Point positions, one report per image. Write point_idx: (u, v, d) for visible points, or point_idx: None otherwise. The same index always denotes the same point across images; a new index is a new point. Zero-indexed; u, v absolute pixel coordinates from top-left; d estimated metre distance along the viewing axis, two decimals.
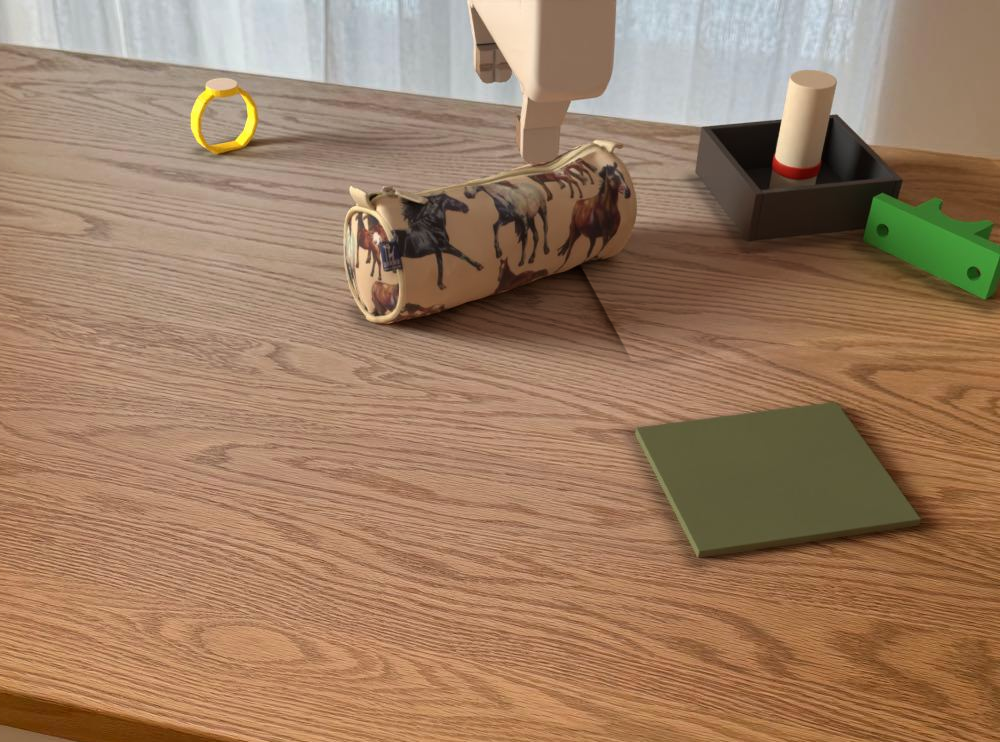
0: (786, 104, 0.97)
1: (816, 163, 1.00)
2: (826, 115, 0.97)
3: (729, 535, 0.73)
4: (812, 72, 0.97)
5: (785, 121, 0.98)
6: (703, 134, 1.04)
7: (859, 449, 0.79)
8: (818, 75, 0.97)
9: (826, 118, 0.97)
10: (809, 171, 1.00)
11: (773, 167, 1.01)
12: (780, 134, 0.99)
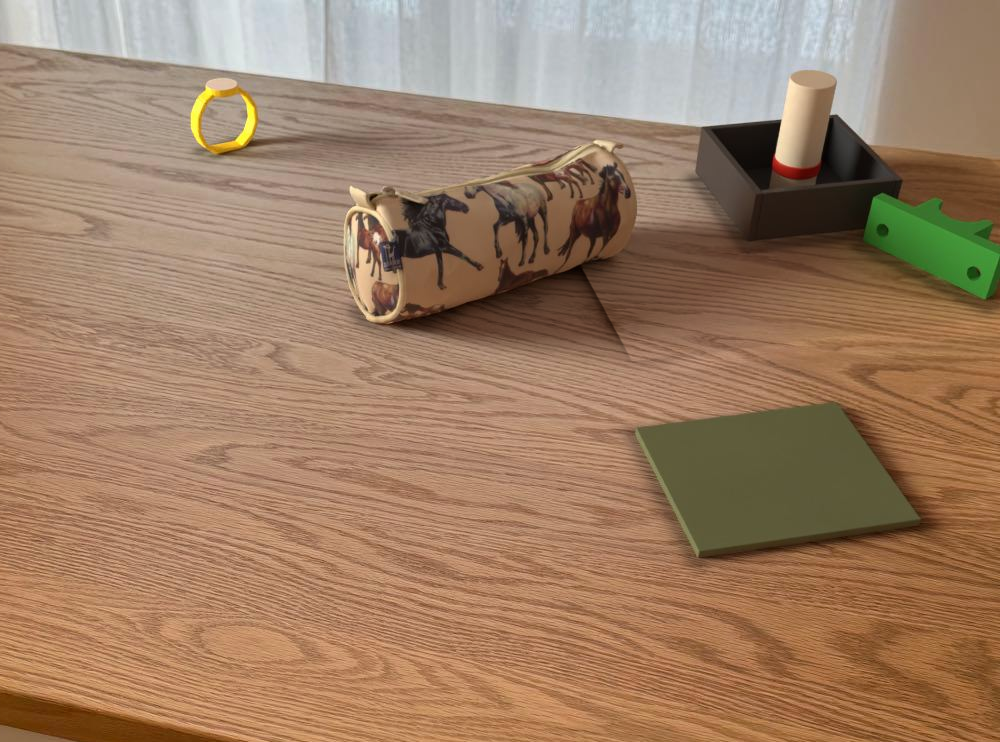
0: (786, 104, 0.97)
1: (816, 163, 1.00)
2: (826, 115, 0.97)
3: (729, 535, 0.73)
4: (812, 72, 0.97)
5: (785, 121, 0.98)
6: (703, 134, 1.04)
7: (859, 449, 0.79)
8: (818, 75, 0.97)
9: (826, 118, 0.97)
10: (809, 171, 1.00)
11: (773, 167, 1.01)
12: (780, 134, 0.99)
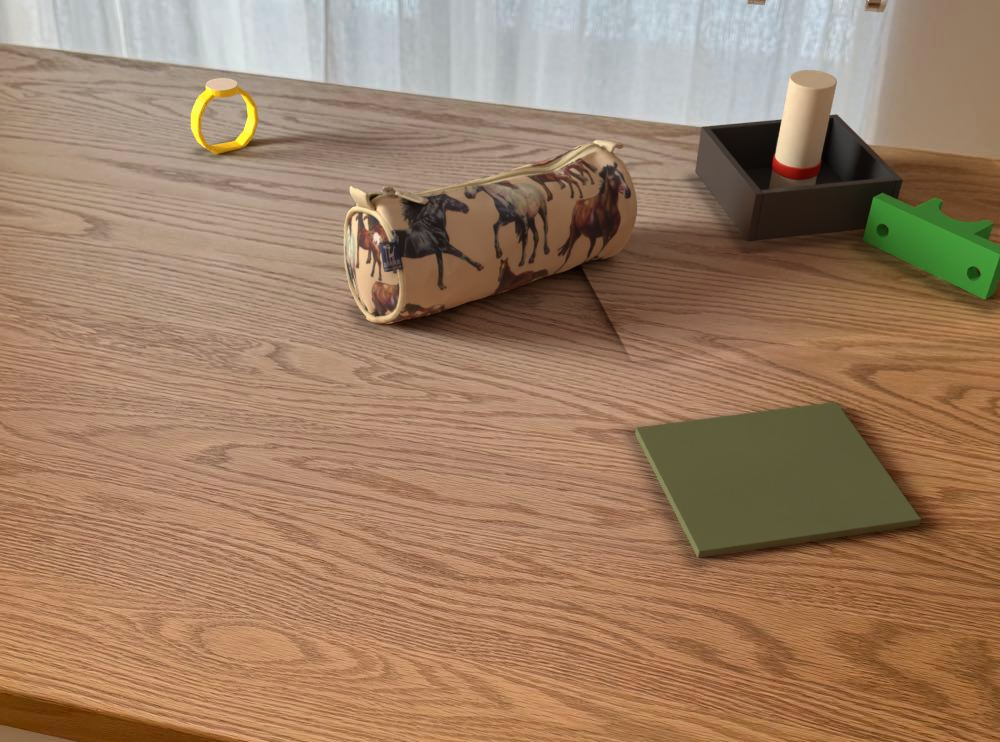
0: (786, 104, 0.97)
1: (816, 163, 1.00)
2: (826, 115, 0.97)
3: (729, 535, 0.73)
4: (812, 72, 0.97)
5: (785, 121, 0.98)
6: (703, 134, 1.04)
7: (859, 449, 0.79)
8: (818, 75, 0.97)
9: (826, 118, 0.97)
10: (809, 171, 1.00)
11: (773, 167, 1.01)
12: (780, 134, 0.99)
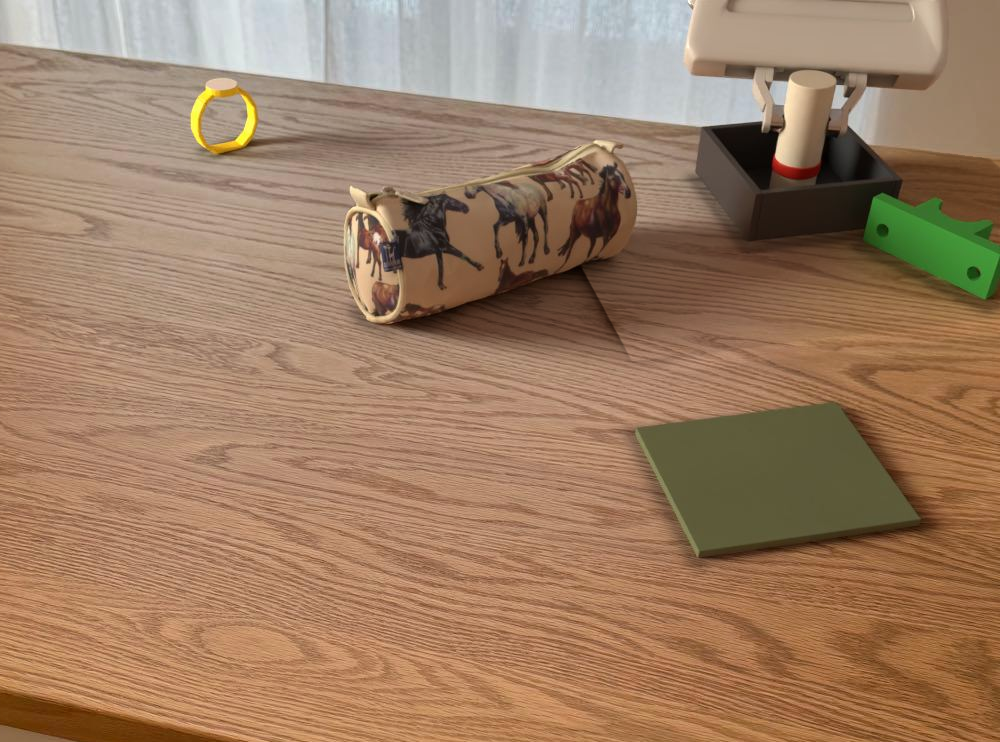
0: (786, 104, 0.97)
1: (816, 163, 1.00)
2: (826, 115, 0.97)
3: (729, 535, 0.73)
4: (812, 72, 0.97)
5: (785, 121, 0.98)
6: (703, 134, 1.04)
7: (859, 449, 0.79)
8: (818, 75, 0.97)
9: (826, 118, 0.97)
10: (809, 171, 1.00)
11: (773, 167, 1.01)
12: (780, 134, 0.99)
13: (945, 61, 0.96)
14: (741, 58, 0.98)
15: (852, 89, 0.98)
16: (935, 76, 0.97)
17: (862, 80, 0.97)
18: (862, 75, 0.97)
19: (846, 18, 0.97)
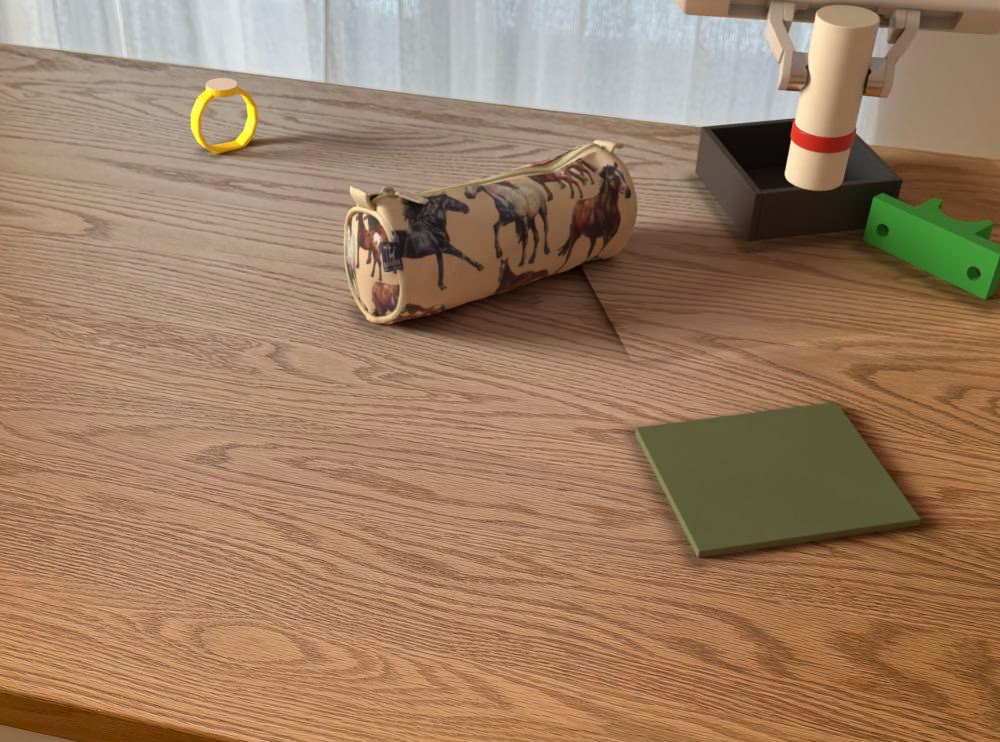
0: (811, 51, 0.72)
1: (850, 131, 0.75)
2: (865, 65, 0.72)
3: (729, 535, 0.73)
4: (847, 8, 0.72)
5: (809, 73, 0.73)
6: (703, 134, 1.04)
7: (859, 449, 0.79)
8: (854, 11, 0.72)
9: (865, 69, 0.72)
10: (841, 142, 0.75)
11: (792, 137, 0.76)
12: (802, 92, 0.74)
13: None
14: None
15: (900, 31, 0.73)
16: None
17: (914, 19, 0.72)
18: (914, 12, 0.72)
19: None
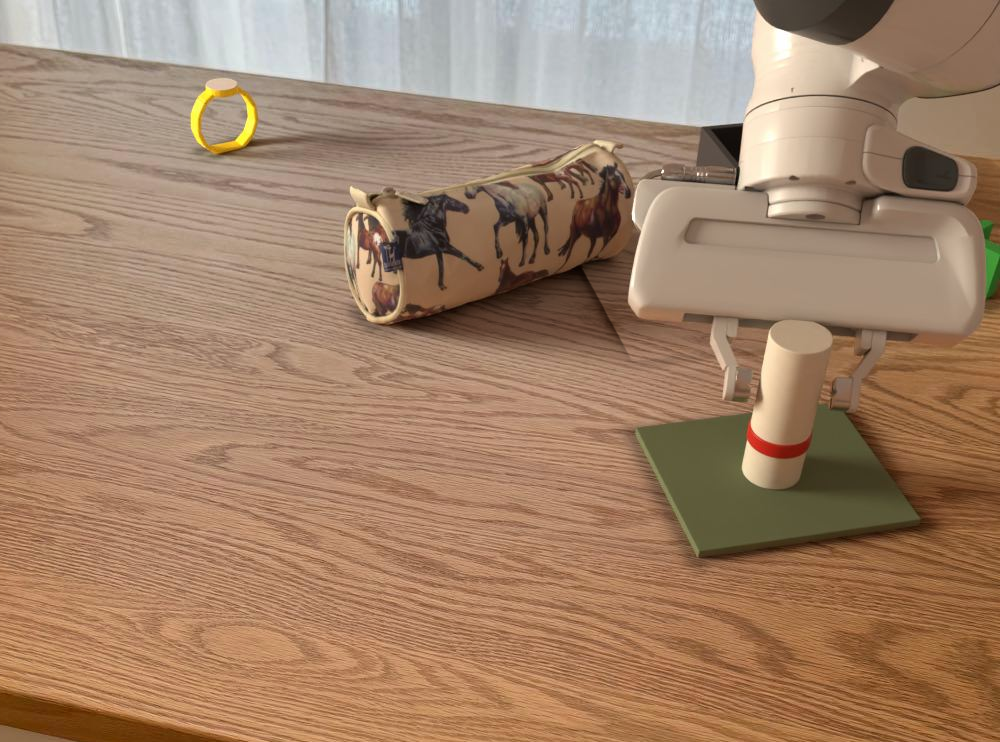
0: (765, 366, 0.72)
1: (806, 438, 0.74)
2: (819, 382, 0.71)
3: (729, 535, 0.73)
4: (800, 324, 0.71)
5: (763, 386, 0.72)
6: (703, 134, 1.04)
7: (859, 449, 0.79)
8: (808, 329, 0.71)
9: (819, 386, 0.71)
10: (796, 449, 0.74)
11: (748, 438, 0.75)
12: (757, 400, 0.73)
13: (981, 317, 0.70)
14: (704, 307, 0.72)
15: (866, 350, 0.72)
16: (967, 336, 0.71)
17: (879, 340, 0.72)
18: (879, 333, 0.72)
19: (846, 255, 0.71)
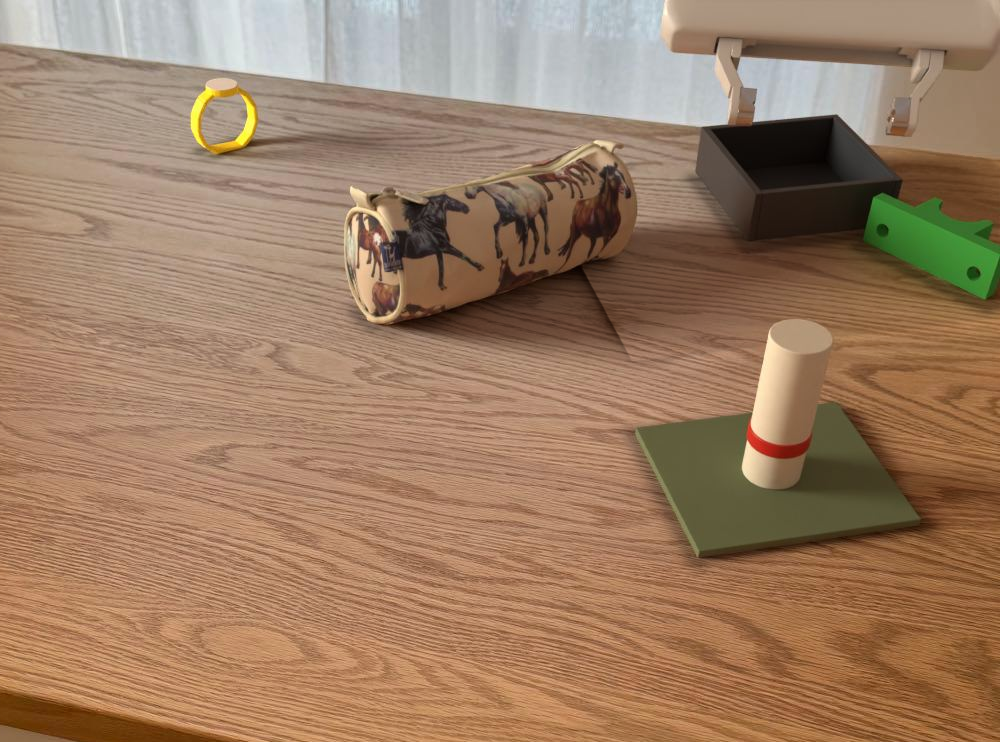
0: (764, 366, 0.72)
1: (806, 438, 0.74)
2: (819, 382, 0.71)
3: (729, 535, 0.73)
4: (800, 324, 0.71)
5: (763, 386, 0.72)
6: (703, 134, 1.04)
7: (859, 449, 0.79)
8: (808, 329, 0.71)
9: (819, 386, 0.71)
10: (796, 449, 0.74)
11: (748, 438, 0.75)
12: (757, 400, 0.73)
13: None
14: (736, 28, 0.74)
15: (924, 71, 0.73)
16: (995, 51, 0.72)
17: (937, 59, 0.73)
18: (937, 53, 0.73)
19: None
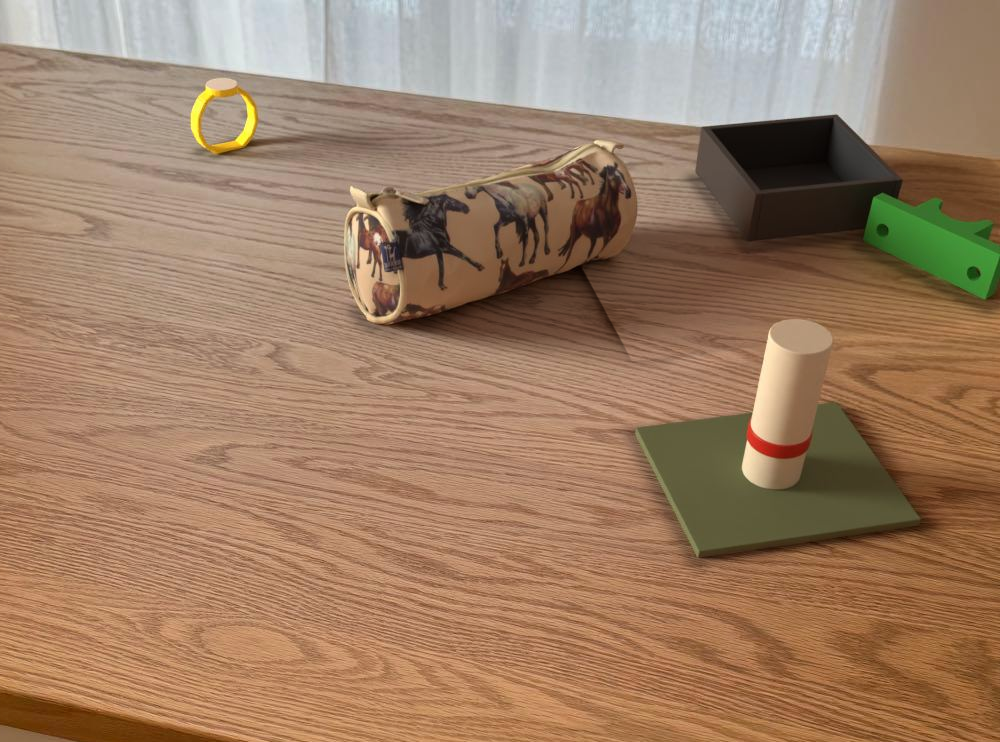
0: (764, 366, 0.72)
1: (806, 438, 0.74)
2: (819, 382, 0.71)
3: (729, 535, 0.73)
4: (800, 324, 0.71)
5: (763, 386, 0.72)
6: (703, 134, 1.04)
7: (859, 449, 0.79)
8: (808, 329, 0.71)
9: (819, 386, 0.71)
10: (796, 449, 0.74)
11: (748, 438, 0.75)
12: (757, 400, 0.73)
13: None
14: None
15: None
16: None
17: None
18: None
19: None
